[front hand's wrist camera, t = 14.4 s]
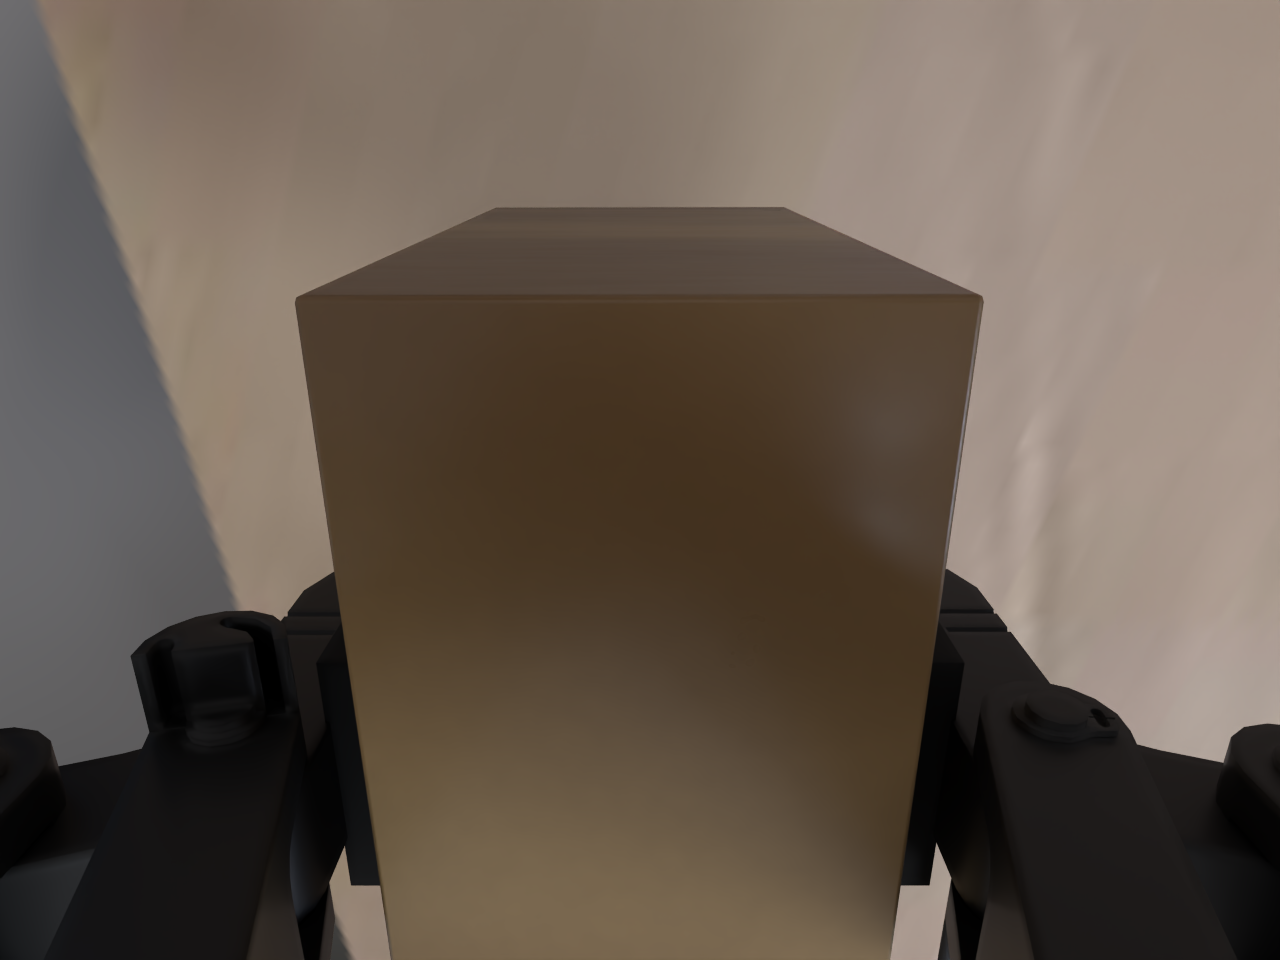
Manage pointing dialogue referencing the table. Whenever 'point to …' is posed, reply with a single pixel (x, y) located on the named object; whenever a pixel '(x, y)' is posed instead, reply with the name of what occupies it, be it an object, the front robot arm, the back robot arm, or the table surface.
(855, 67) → the table surface
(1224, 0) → the table surface
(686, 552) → the beam
